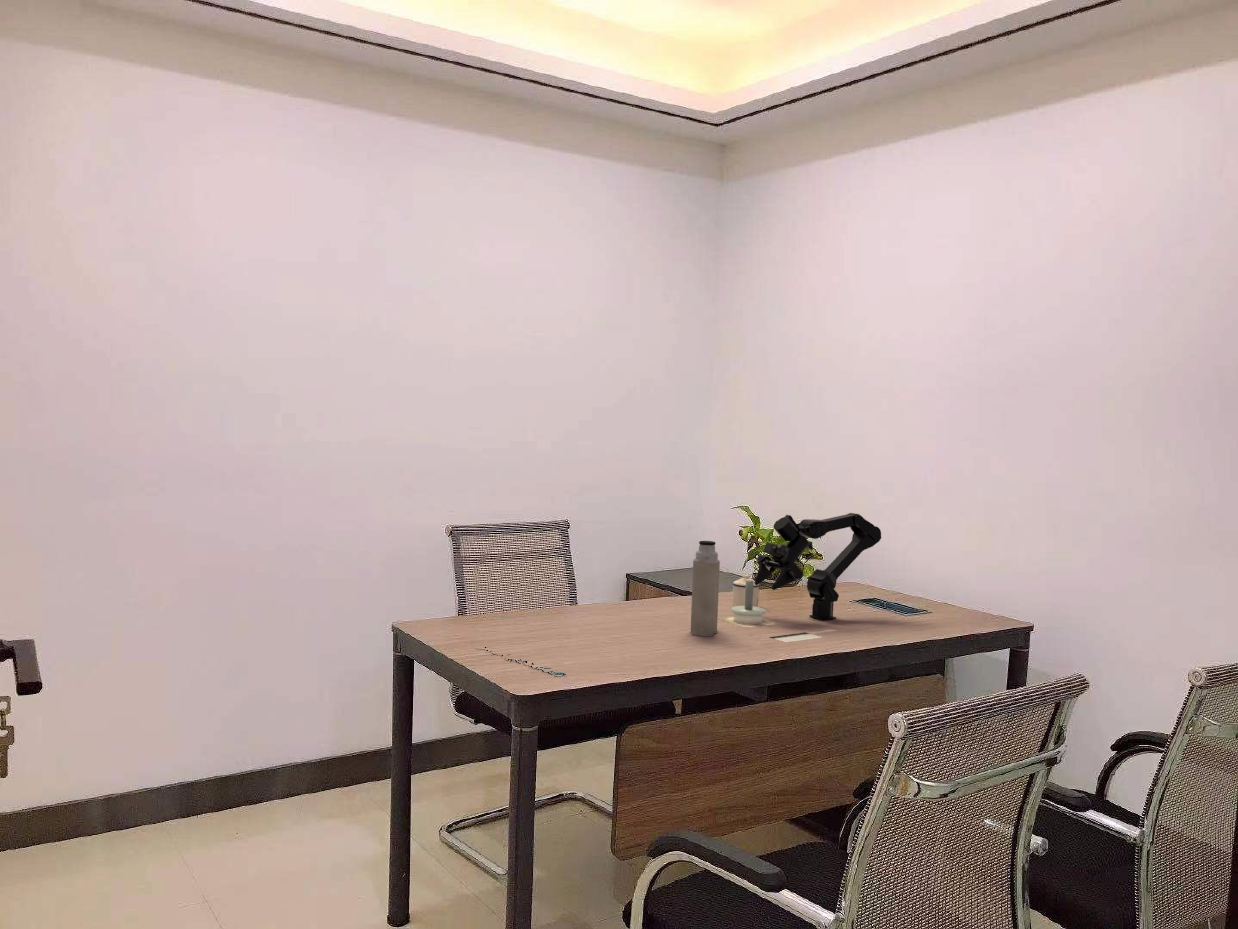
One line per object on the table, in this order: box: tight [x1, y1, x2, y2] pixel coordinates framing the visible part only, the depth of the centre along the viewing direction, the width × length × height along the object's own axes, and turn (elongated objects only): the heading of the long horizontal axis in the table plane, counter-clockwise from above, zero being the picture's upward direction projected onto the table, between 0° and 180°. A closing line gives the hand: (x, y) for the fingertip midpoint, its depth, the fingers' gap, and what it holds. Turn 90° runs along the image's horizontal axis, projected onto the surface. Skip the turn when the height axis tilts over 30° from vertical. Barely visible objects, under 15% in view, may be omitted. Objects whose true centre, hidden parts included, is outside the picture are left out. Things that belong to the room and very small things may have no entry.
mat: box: [768, 632, 823, 643], centre depth 310 cm, size 15×15×1 cm
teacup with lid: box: [732, 574, 760, 607], centre depth 351 cm, size 12×9×12 cm
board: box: [717, 616, 780, 629], centre depth 325 cm, size 14×14×1 cm
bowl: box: [733, 613, 764, 624], centre depth 325 cm, size 9×9×3 cm
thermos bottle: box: [690, 540, 721, 637], centre depth 309 cm, size 8×8×28 cm
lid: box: [730, 580, 767, 615], centre depth 324 cm, size 11×11×10 cm
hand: (763, 586), depth 327 cm, fingers open, 9 cm apart
